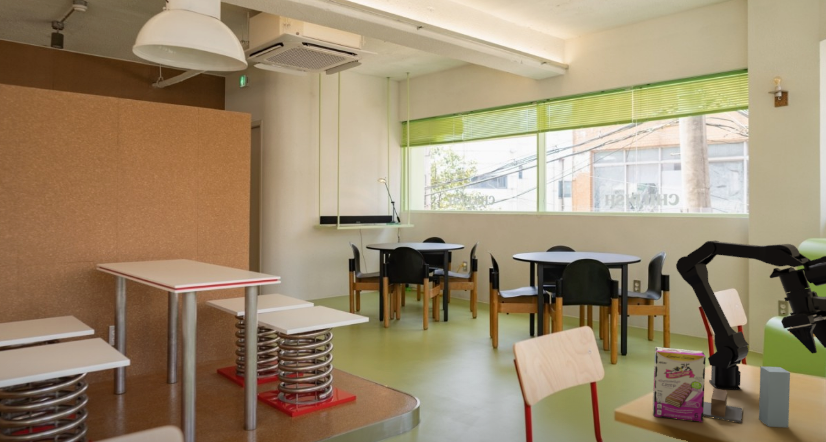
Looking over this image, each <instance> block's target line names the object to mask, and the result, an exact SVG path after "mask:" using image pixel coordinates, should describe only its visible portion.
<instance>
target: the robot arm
mask: <svg viewBox="0 0 826 442" xmlns="http://www.w3.org/2000/svg"><path fill="white" fill-rule="evenodd" d="M717 256H724V257H733V258H741V259H742V258H743V259H751V260H752V259H753V260H756V261H760V262H762V263H765V264H768V265H771V266H776V268H773V270H772V272H771V274H770V275H769V278H770V279H774V278H779V281H780V284H781V285H782V288H783V291H784V293H785V296H786V297H783V300H784V301H785V302H788V304H789V307H790V309H791V311H792V312H789V313H790V315H786V316H783V317H782V319H781V325H782V327H783V329H786V330H787V332H789V333H790V334H791V335H793V336H794V337H795V338H796V340H798V341H799V342H800V343H801V344H802V345H803V346H804V347H805V348H806V349H807V350H808V352H810V353H811V354H817V353H818V351H817V346H816V341H815V338H816V339H817V340H818V342H819V343H820V345H821V346H822V347H823V348H825V349H826V296H819V295H818V294H817V291H815V290H813V291H812V288H811V287H810V284H813V285H814V286H816V287H819V286H823V285H826V255H823V256H822V257H819V258H816V259H810V258H808V257H806V256H805V255H803V254H802V253H801V252H800V250H799V249H798V248H797V247H796V245H794V244H791V243H782V244H781V243H780V244H767V245H766V244H765V245H756V244H747V243H746V244H745V243H737V242H735V243H734V242H725V241H718V240H708V241H706V242H704V243H702V245H701V246H700V247H698V248H696V249H695V250H693V251H691V252H690V253H689V254H688V255H685V256H681V257H680V258H678V260H677V261H676V263H675V267H676V271H677V272H678V274H679V275H680V277H681V278H682V279H683V280H684V281H685V282H686V283H687V284H688V285H689V287H691V288H692V291H693V292H694V294H695V296H696V299H697V300H698V302H699V304H700V306H701V309H702V311H703V313H704V315H705V317H706V319H707V321H708V323H709V325H710V327H711V329H712V331H713V335H714V337H713V338H714V346H715V352H714V353H713V354H712V355H710V356H709V357H708V358H707V360H708V363H709V365H710V366H711V370H710V371H711V372H710V373H711V375H710V376H711V377H710V378H711V379H708V382H709V383H710V384H711V385H712V386H713V387H715V388H714V389H720V390H741V389H742V388H741V387H740V386H741V371H740V370H739V369H740V367H739V365H740V364H741V363H742V360H743V359H745V358H746V357H747V356H748V354H749V347H748V346H749V345H750V344H749V343H748V342H747V340H746V339H745V336H744V333H743V332H742V331H738V332H737V331H735V330H734V329H733V328H732V326H731V325H730V322H729V320H728V319H727V317H726V314H725V312H724V310H723V308H722V307H721V305H720V303H719V300H718V298H717V297H716V295H715V292H714V290H713V289H712V287H711V284H710V282H709V270H708V268H707V265H709V264H710V263H711V262H712V261H713V260H714V258H715V257H717ZM787 266H788V267H787ZM778 267H786V268H782V269H780V268H778ZM797 267H803V268H800V269H795V268H797Z"/></svg>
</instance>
